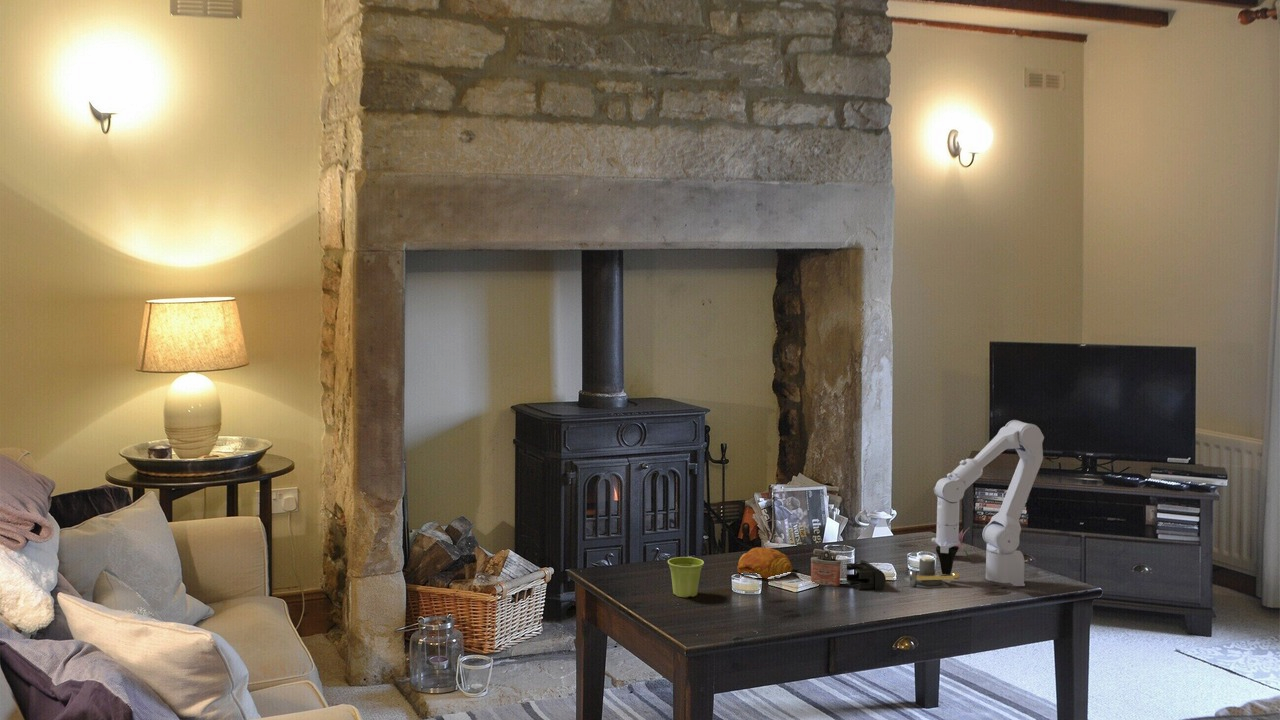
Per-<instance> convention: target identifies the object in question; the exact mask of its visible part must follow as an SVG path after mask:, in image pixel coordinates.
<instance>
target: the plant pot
mask: <svg viewBox="0 0 1280 720" xmlns="http://www.w3.org/2000/svg"><path fill="white" fill-rule="evenodd" d="M667 564H668V565H669V569H670V575H671V576H670V577H671V583H672V584H671V585H672V592H673V593H672V594H673V595H675V596H676V597H678V598H679V597H680V598H689V597H692V598H693V597H696V596H697V595H698V591H699V582H700V577H701V571H702V569H703V566H704V565H705V562H704V560H702V559H701V558H700V559H699V558H696V557H690V556H679V557H678V556H677V557H672V558H670V559H668V560H667Z"/></svg>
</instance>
